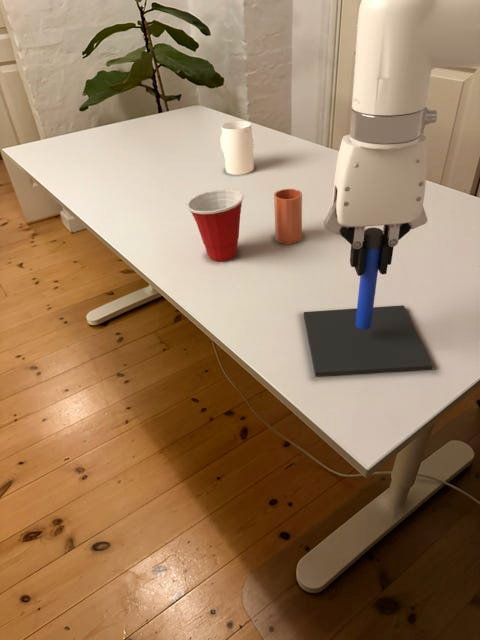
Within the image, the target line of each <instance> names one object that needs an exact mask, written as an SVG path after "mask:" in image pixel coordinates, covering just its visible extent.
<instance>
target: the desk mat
mask: <svg viewBox="0 0 480 640" xmlns="http://www.w3.org/2000/svg"><path fill="white" fill-rule="evenodd" d="M356 314H357V308H345V309H343V308H342V309H330V310H329V309H328V310H314V311H303V319H304V326H305V330H306V335H307V341H308V345H309V351H310V356H311V362H312V367H313V372H314V376H315V377H330V376H345V375H362V374H363V375H364V374H378V373H379V374H380V373H396V372H411V371H429V370H433V367H434V365H433V363H432V360H431V359H430V356H429V355H428V352H427V350H426V348H425V346H424V344H423V342H422V340H421V338H420V336H419V334H418V332H417V330H416V328H415V326H414V324H413V322H412V319H411V318H410V316H409V314H408V311H407V309H406V308H405V305H389V306H388V305H387V306H373V314H372V322H371V327H370V328H368V329H359V328H358V327H356Z"/></svg>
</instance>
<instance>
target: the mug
mask: <svg viewBox="0 0 480 640" xmlns="http://www.w3.org/2000/svg"><path fill="white" fill-rule="evenodd" d="M252 129H253V127H252V123H251V122H250V121H245V120H237V121H236V120H235V121H230V122H229V121H228V122H225V123H223V124H222V125H221V135H220V140H219V141H220V142H219V143H220V149H221V151H222V154H223V155H224V156H223V157H224V163H225V164H224V167H225V172H226V173H227V174H229V175H235V176H240V175H246V174H249V173H251V172H253V171H254V169H255V163H254V162H255V161H254V143H253V142H254V138H253V130H252Z"/></svg>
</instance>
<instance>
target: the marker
mask: <svg viewBox="0 0 480 640" xmlns="http://www.w3.org/2000/svg"><path fill="white" fill-rule="evenodd" d="M382 238H383V229H381V228H379V227H367V228H365V231H364V238H363V242H364V246H365V248H366V257H365V267H364V274H363V275H362V276H359V283H358V284H359V285H358V294H357V304H356V305H357V306H356V309H357V314H356V327H358V328H359V329H368V328H370V327H371V322H372V314H373V307H375V306H374V305H375V298H376V290H377V289H376V288H377V280H378V275H379V270H378V267H379V259H380V251H381V246H382Z"/></svg>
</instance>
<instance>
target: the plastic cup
mask: <svg viewBox="0 0 480 640" xmlns="http://www.w3.org/2000/svg"><path fill="white" fill-rule="evenodd" d="M244 198H245V197H244V194H243V192H242V191H240V190H237V189H231V188H219V189H213V190H209V191H208V190H207V191H205V192H202V193H199V194H196V195H195V196H194V197H192V198H190V199H189V200H188V201H187V203H186V208H187V210H188V211H189V212H190V213H191V215H192V217H193V219H194V221H195V223H196V225H197V229H198V231H199V234H200V237H201V240H202V243H203V245H204V247H205V251H206V254H207V256H208V258H209V259H210V260H211V261H214V262H227V261H230V260H232V259H234V258H235V257H236V256H237V252H238V246H239V245H238V244H239V237H240V224H241V213H242V206H243V205H242V204H243V200H244Z"/></svg>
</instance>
